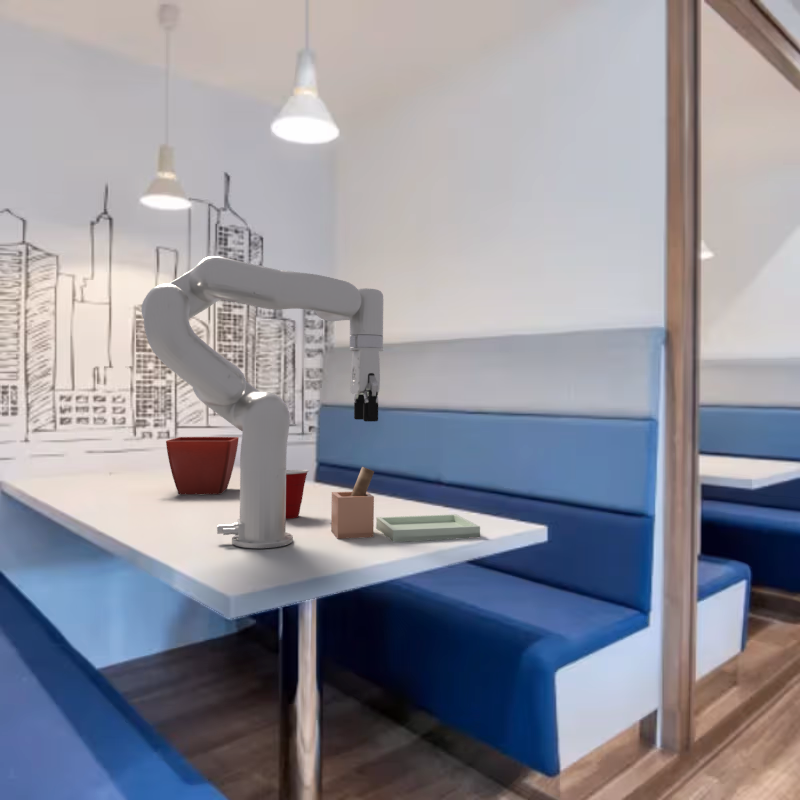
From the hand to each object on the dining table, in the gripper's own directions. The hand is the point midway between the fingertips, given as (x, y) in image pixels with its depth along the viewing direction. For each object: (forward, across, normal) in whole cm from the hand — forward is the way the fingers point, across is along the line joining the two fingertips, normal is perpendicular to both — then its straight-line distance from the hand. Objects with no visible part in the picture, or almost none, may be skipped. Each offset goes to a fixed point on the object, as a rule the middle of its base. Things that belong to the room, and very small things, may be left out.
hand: (365, 420), depth 149 cm
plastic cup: (+26, -24, -15) cm, 38 cm away
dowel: (+25, 0, -2) cm, 25 cm away
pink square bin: (+26, 0, -3) cm, 26 cm away
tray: (+26, +2, +14) cm, 29 cm away
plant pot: (+26, -70, -36) cm, 83 cm away
